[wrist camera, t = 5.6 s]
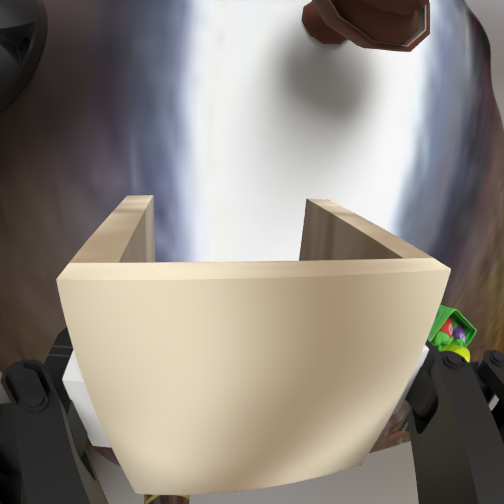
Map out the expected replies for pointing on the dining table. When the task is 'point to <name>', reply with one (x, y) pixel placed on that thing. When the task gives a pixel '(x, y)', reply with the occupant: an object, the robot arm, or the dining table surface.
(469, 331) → the fruit basket
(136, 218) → the cover
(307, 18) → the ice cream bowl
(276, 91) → the dining table surface
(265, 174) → the dining table surface
